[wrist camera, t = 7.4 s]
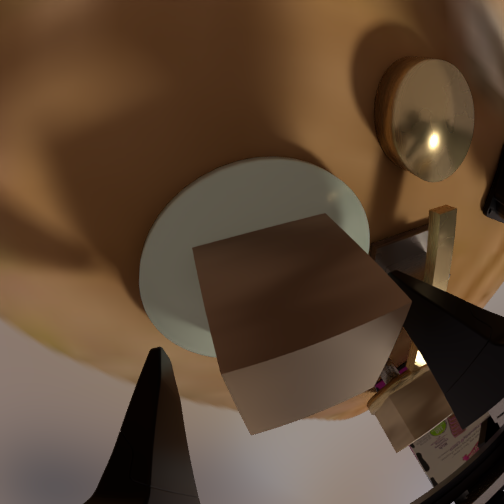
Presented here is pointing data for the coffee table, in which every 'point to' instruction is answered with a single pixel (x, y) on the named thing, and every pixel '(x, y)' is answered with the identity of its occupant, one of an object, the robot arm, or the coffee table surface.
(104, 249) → the coffee table surface
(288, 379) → the walnut block
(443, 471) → the candy bar box
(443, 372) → the robot arm
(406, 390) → the oak block
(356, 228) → the sage dish
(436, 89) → the balance
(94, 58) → the coffee table surface
